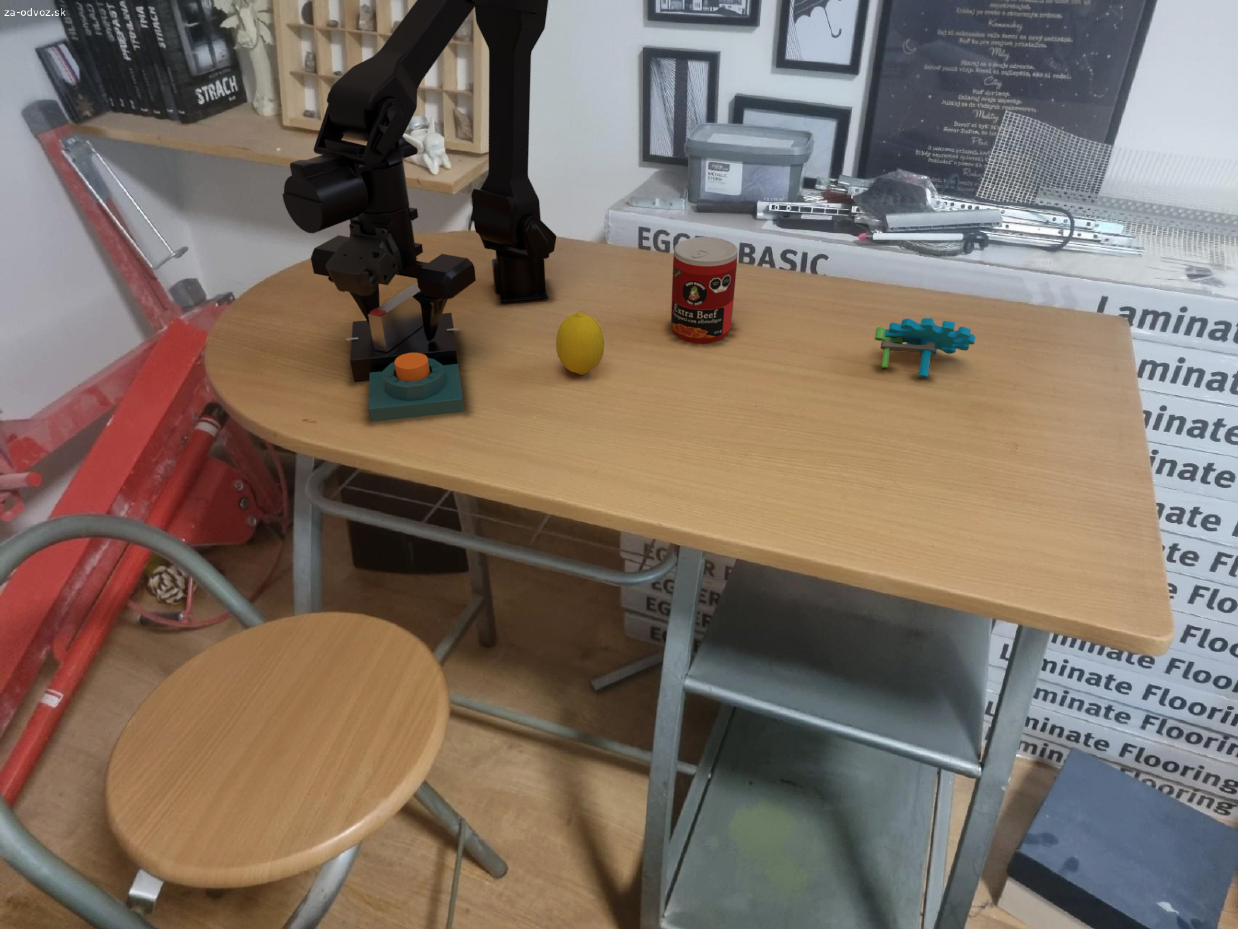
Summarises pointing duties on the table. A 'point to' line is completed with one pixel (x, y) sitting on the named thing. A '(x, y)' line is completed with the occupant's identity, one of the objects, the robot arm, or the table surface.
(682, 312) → the canned food
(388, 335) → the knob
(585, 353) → the lemon
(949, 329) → the gear
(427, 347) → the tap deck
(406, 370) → the button
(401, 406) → the control block
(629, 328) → the table surface
